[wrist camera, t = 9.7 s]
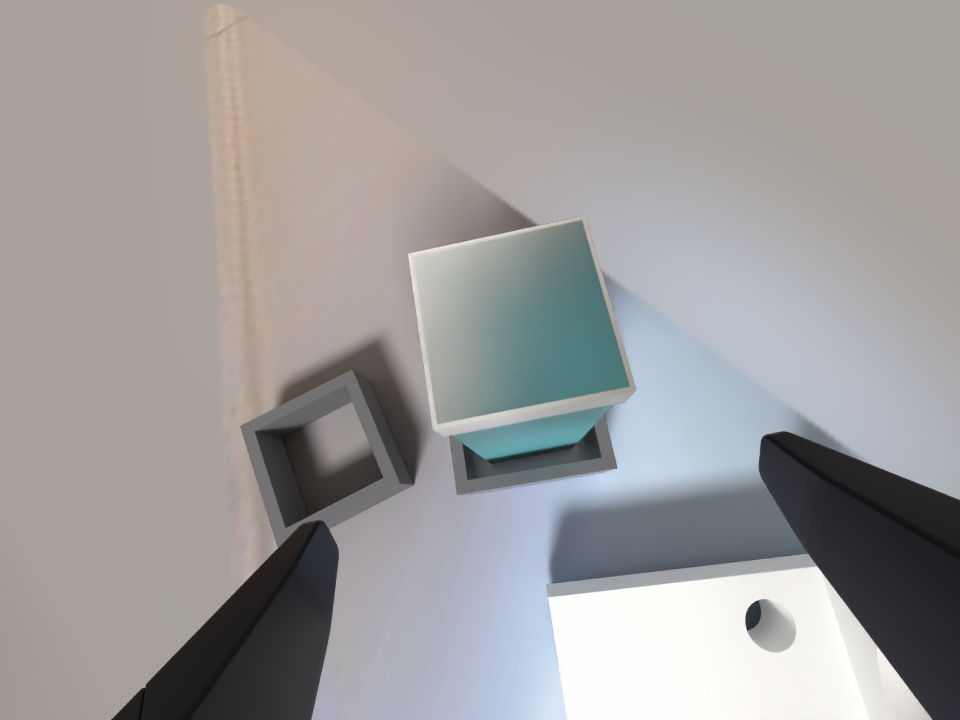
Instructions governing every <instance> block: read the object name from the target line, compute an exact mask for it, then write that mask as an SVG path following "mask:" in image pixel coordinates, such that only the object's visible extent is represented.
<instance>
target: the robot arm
mask: <svg viewBox="0 0 960 720" xmlns="http://www.w3.org/2000/svg"><path fill="white" fill-rule="evenodd" d="M759 472H760V475H761V478H762V480H763V481H764V483H765V485H766V486H767V488H768V490H769V491H770V493H771V495H772V496H773V498H774V500H775V501H776V503H777V505H778V506H779V508H780V510H781V511H782V513H783V515H784V516H785V518H786V520H787V521H788V523H789V525H790V526H791V528H792V530H793V531H794V533H795V534H796V536H797V538H798V539H799V541H800V542H801V544H802V546H803V547H804V549H805V550H806V552H807V553H808V554H809V556H810V557H811V559H812V560H813V561H814V563H815V564H816V565H817V567H818V568H819V569H820V571H821V572H822V573H823V575H824V576H825V577H826V579H827V580H828V581H829V583H830V584H831V585H832V587H833V588H834V589H835V591H836V592H837V593H838V595H839V596H840V597H841V599H842V600H843V601H844V603H845V604H846V605H847V607H848V608H849V609H850V611H851V612H852V613H853V615H854V616H855V617H856V619H857V620H858V621H859V623H860V624H861V625H862V627H863V628H864V629H865V631H866V632H867V633H868V635H869V636H870V637H871V639H872V640H873V641H874V643H875V644H876V645H877V647H878V648H879V649H880V651H881V652H882V653H883V655H884V656H885V657H886V659H887V660H888V661H889V663H890V664H891V665H892V667H893V668H894V669H895V671H896V672H897V673H898V675H899V676H900V677H901V679H902V680H903V681H904V683H905V684H906V685H907V687H908V688H909V689H910V691H911V692H912V693H913V695H914V696H915V697H916V699H917V700H918V701H919V703H920V704H921V705H922V707H923V708H924V709H925V711H926V712H927V713H928V715H929V716H930V717H931V719H932V720H960V500H958V499H956V498H953V497H951V496H948V495H946V494H943V493H941V492H938V491H936V490H933V489H931V488H928V487H926V486H923V485H921V484H918V483H916V482H913V481H911V480H908V479H906V478H903V477H900V476H898V475H896V474H893V473H890V472H888V471H885V470H883V469H880V468H878V467H875V466H873V465H870V464H868V463H865V462H863V461H860V460H858V459H855V458H853V457H850V456H848V455H845V454H843V453H840V452H838V451H835V450H833V449H830V448H827V447H825V446H822V445H820V444H817V443H815V442H812V441H810V440H807V439H805V438H802V437H800V436H797V435H795V434H792V433H789V432H785V431H783V432H777V433H771V434H766V435H764V436H763V437H762V439H761V445H760V456H759ZM338 560H339V551H338V546H337V544H336V542H335V540H334V538H333V536H332V534H331V533H330V531H329V529H328V527H327V525H326V523H325V522H324V521H322V520H315V521H310V522H305V523H303V524H301V525H300V526H299V527H298V528H297V529H296V530H295V531H294V532H293V533H292V534H291V535H290V536H289V537H288V538H287V539H286V540H285V541H284V542H283V543H282V544H281V546H280V547H279V548H278V549H277V550H276V551H275V552H274V553H273V554H272V555H271V556H270V557H269V558H268V559H267V560H266V561H265V562H264V563H263V564H262V565H261V566H260V567H259V568H258V569H257V570H256V571H255V572H254V573H253V574H252V575H251V576H250V578H249V579H248V580H247V581H246V582H245V583H244V584H243V585H242V586H241V587H240V588H239V589H238V590H237V591H236V592H235V593H234V594H233V595H232V596H231V597H230V598H229V599H228V600H227V601H226V602H225V603H224V604H223V605H222V606H221V608H220V609H218V611H217V612H216V613H215V614H214V615H213V616H212V617H211V618H210V619H209V620H208V621H207V622H206V623H205V624H204V625H203V626H202V627H201V628H200V629H199V630H198V631H197V632H196V633H195V634H194V635H193V636H192V637H191V638H190V639H189V640H188V642H186V644H185V645H184V646H183V647H182V648H181V649H180V650H179V651H178V652H177V653H176V654H175V655H174V656H173V657H172V658H171V659H170V660H169V661H168V662H167V663H166V664H165V665H164V666H163V667H162V668H161V669H160V670H159V671H158V673H157V674H155V676H154V677H153V678H152V679H151V680H150V681H149V682H148V683H147V684H146V687H145V688H142V689H141V690H140V691H139V692H138V693H137V694H136V695H135V696H134V697H133V698H132V699H131V700H130V701H129V702H128V703H127V704H126V705H125V706H124V707H123V708H122V709H121V710H120V711H119V712H118V713H117V715H115V716H114V718H113V719H111V720H311V718H312V714H313V709H314V705H315V700H316V695H317V691H318V686H319V682H320V677H321V672H322V668H323V663H324V659H325V654H326V649H327V645H328V639H329V634H330V628H331V621H332V613H333V604H334V595H335V586H336V577H337V569H338Z"/></svg>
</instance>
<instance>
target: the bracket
mask: <svg viewBox="0 0 960 720" xmlns="http://www.w3.org/2000/svg"><path fill="white" fill-rule="evenodd" d="M546 587H547V593H548V600H549V606H550V613H551V619H552V626H553V632H554V639H555V645H556V652H557V658H558V664H559V671H560V678H561V684H562V691H563V697H564V704H565V710H566V716H567V720H932V719H931V717H930V716H929V715H928V713H927V712H926V711H925V709H924V708H923V707H922V705H921V704H920V703H919V701H918V700H917V699H916V697H915V696H914V695H913V693H912V692H911V691H910V689H909V688H908V687H907V685H906V684H905V683H904V681H903V680H902V679H901V677H900V676H899V675H898V673H897V672H896V671H895V669H894V668H893V667H892V665H891V664H890V663H889V661H888V660H887V659H886V657H885V656H884V655H883V653H882V652H881V651H880V649H879V648H878V647H877V645H876V644H875V643H874V641H873V640H872V639H871V637H870V636H869V635H868V633H867V632H866V631H865V629H864V628H863V627H862V625H861V624H860V623H859V621H858V620H857V619H856V617H855V616H854V615H853V613H852V612H851V611H850V609H849V608H848V607H847V605H846V604H845V603H844V601H843V600H842V599H841V597H840V596H839V595H838V593H837V592H836V591H835V589H834V588H833V587H832V585H831V584H830V583H829V581H828V580H827V579H826V577H825V576H824V575H823V573H822V572H821V571H820V569H819V568H818V567H817V565H816V564H815V563H814V561H813V560H812V559H811V557H810V556H809V554H801V555H792V556H784V557H775V558H767V559H758V560H750V561H741V562H733V563H724V564H716V565H707V566H699V567H690V568H682V569H673V570H665V571H656V572H648V573H639V574H631V575H622V576H613V577H605V578H596V579H588V580H579V581H571V582H562V583H554V584H546ZM757 600H758V601H759V603H760V606H761V618H760V621H759V623H758V624H757V626H756V627H754V628H753V629H751V630H748V631H747V629H746V625H745V616H746V612H747V610H748V608H749V606H750V605H751V604H752V603H754V602H755V601H757Z"/></svg>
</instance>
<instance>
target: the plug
mask: <svg viewBox="0 0 960 720" xmlns="http://www.w3.org/2000/svg"><path fill="white" fill-rule="evenodd" d="M408 257H409V264H410V271H411V278H412V285H413V292H414V299H415V306H416V313H417V320H418V327H419V334H420V341H421V348H422V355H423V363H424V370H425V377H426V384H427V391H428V398H429V405H430V412H431V419H432V426H433V430H434V431H436V432H437V433H439V434H440V435H442V436H443V437H447V436H454V437H455V438H456V439H458V440H459V441H461V442H462V443H463V444H465V445H466V446H467V447H469V448H470V449H471V450H473V451H474V452H475V453H477V454H478V455H480V456H481V457H482V458H484V459H485V460H486V461H488V462H489V463H490V464H494V463H499V462H504V461H510V460H515V459H520V458H526V457H531V456H536V455H541V454H547V453H552V452H557V451H563V450H568V449H572V448H573V447H574V446H575V445H576V444H577V443H578V442H579V441H580V440H581V439H582V438H583V437H584V436H585V434H586V433H587V432H588V431H589V430H590V429H591V428H592V427H593V426H594V425H595V424H596V423H597V422H598V421H599V419H600V418H601V417H602V416H603V415H604V414H605V413H606V412H607V411H608V410H609V409H610V408H611V407H612V406H613V404H618V403H623V402H625V401H626V400H627V399H628V398H629V397H630V396H631V395H632V394H633V393H634V392H635V391H636V387H635V384H634V380H633V377H632V373H631V370H630V367H629V363H628V360H627V356H626V353H625V350H624V346H623V343H622V339H621V336H620V332H619V329H618V326H617V322H616V319H615V315H614V312H613V309H612V305H611V302H610V298H609V295H608V291H607V288H606V285H605V281H604V278H603V274H602V271H601V268H600V264H599V261H598V257H597V254H596V251H595V247H594V244H593V240H592V237H591V234H590V230H589V227H588V223H587V220H586V217H585V216H581V217H576V218H571V219H567V220H562V221H558V222H553V223H548V224H544V225H539V226H534V227H530V228H525V229H521V230H516V231H511V232H507V233H502V234H498V235H493V236H488V237H484V238H479V239H474V240H470V241H465V242H461V243H456V244H451V245H447V246H442V247H438V248H433V249H428V250H424V251H419V252H414V253H410V254H408Z"/></svg>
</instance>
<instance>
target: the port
mask: <svg viewBox="0 0 960 720" xmlns="http://www.w3.org/2000/svg"><path fill="white" fill-rule="evenodd" d="M449 438H450V445H451V453H452V460H453V468H454V475H455V482H456V490H457V495H472V494H478V493H484V492H490V491H496V490H502V489H508V488H514V487H520V486H526V485H532V484H538V483H544V482H550V481H556V480H562V479H568V478H574V477H580V476H586V475H592V474H598V473H603V472H606V471H610V470H613V469H617V464H616V460H615V456H614V452H613V448H612V444H611V440H610V436H609V432H608V428H607V424H606V419H605V415H603V416H602V417H601V418H600V419H599V421H598V422H597V423H596V424H595V425H594V426H593V427H592V428H591V429H590V430H589V431H588V432H587V433H586V434H585V436H584V437H583V438H582V439H581V440H580V441H579V442H578V443H577V444H576V445H575V446H574V447H573V448H572V449H568V450H563V451H557V452H552V453H547V454H541V455H536V456H531V457H526V458H520V459H515V460H510V461H504V462H499V463H494V464H490V463H489V462H488V461H486V460H485V459H484V458H482V457H481V456H480V455H478V454H477V453H475V452H474V451H473V450H471V449H470V448H469V447H467V446H466V445H465V444H463V443H462V442H461V441H459V440H458V439H456V438H455V437H454V436H449Z"/></svg>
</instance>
